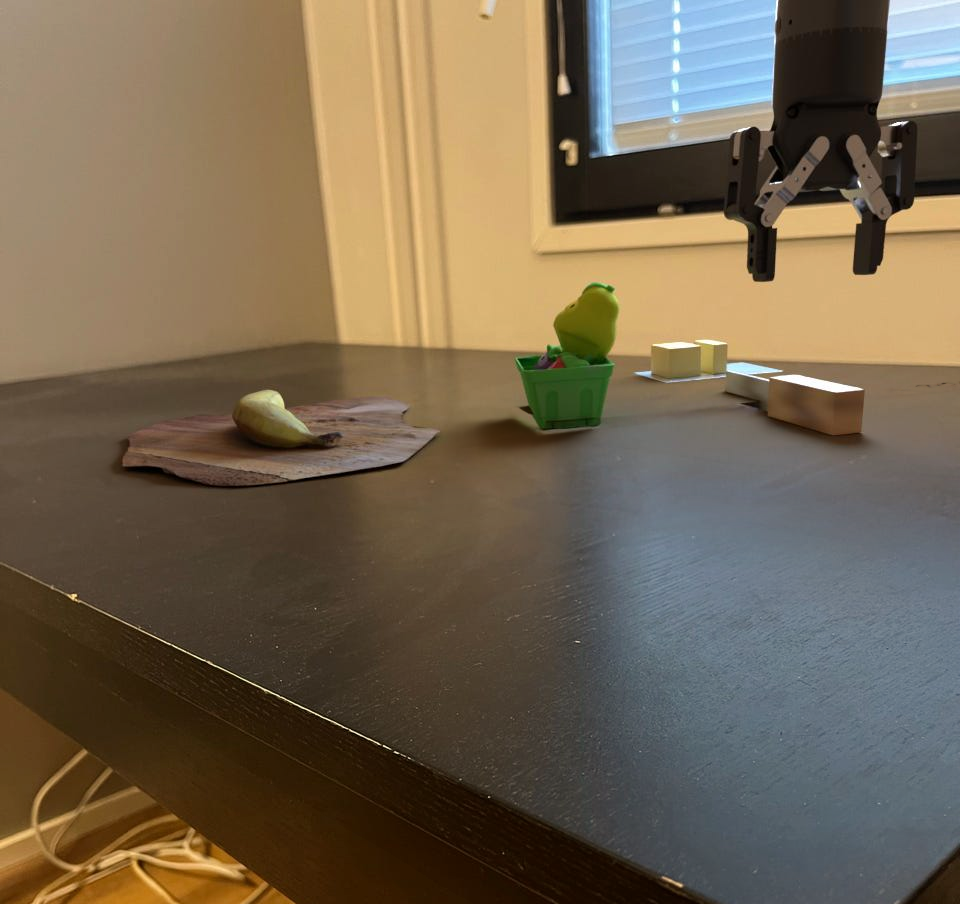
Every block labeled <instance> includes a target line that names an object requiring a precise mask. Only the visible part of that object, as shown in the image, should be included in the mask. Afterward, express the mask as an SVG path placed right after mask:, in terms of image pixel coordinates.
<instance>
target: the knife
mask: <svg viewBox="0 0 960 904" xmlns="http://www.w3.org/2000/svg"><path fill="white" fill-rule="evenodd" d="M724 384H725V386H724V391H725V392H727V393H731V394H734V395H738V396H742V397H745V398H748V399H752V400H756V401H748V402H739V404H740V405H743V406H747V407H750V408H754V409H758V410H761V411H763V412H767V416H768V417H770V418H773V419H777V420H780V421H784V422H787V423H790V424H793V425H795V426H800V427H803V428H806V429H809V430H813V431H817V432H820V433H823V434H826V435H830V436H841V435H842V436H843V435H850V434H859V433H862V428H863V417H864V404H865V392H866V389H864V388H861V387H855V386H851V385H847V384H841V383H837V382H832V381H827V380H822V379H817V378H813V377H809V376H804V375H800V374H787V375H776V376H769V378H764V377H760V376H754V375H752V374H750V375H747V374H742V373H738V372H734V371H726V377H725V383H724Z"/></svg>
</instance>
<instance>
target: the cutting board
mask: <svg viewBox="0 0 960 904" xmlns="http://www.w3.org/2000/svg"><path fill="white" fill-rule="evenodd" d="M410 407H411V405H410V404H406V403H405V402H401V401H400V400H395V399H392V398H390V397H380V396H363V397H362V396H360V397H348V398H347V397H345V398H339V399H335V400H328V401H323V402H316V403H309V404H304V405H297V406H291V407H285V402H284V400H283V397H282V396H281V394H280V393H279V392H278V391H276V390H273V389H262V390H258V391H255V392H252V393H248V394H245V395H244V396H243V397H241V398H240V399H239V400H238V402H237V403H236V404H235V406H234V409H233V412H232V413H227V414H196V415H193V416H189V417H181V418H176V419H170V420H164V421H162V422H159V423H156V424H153V425H150V426H147V427H145V428H143V429H140V430H137V431H134V432H132V433H130V434H128V435H126V438H127V439H128V441H129V445H128V448H127V450H126V452H125V453H124V455H123V456H122V467H126V468H127V467H128V468H137V467H156V468H161V469H162V471H163V472H164V473H166V474H169V475H176V476H177V477H178V478H180V479H185V480H187V481H195V482H198V483H201V484H204V485H211V486H212V487H213V486H216V487H229V486H231V487H232V486H237V487H249V486H257V485H268V484H278V483H286V482H292V481H296V480H301V479H305V478H313V477H320V476H326V475H327V476H328V475H332V474H333V475H334V474H335V475H336V474H341V473H346V472H353V471H359V470H365V469H372V468H378V467H384V466H388V465H392V464H397V463H403V462H405V461H406V460H408V459H409V458H411V456H413V455H414V454H416V453H417V452H418V451H419V450H421V449H422V448H423V447H424V446H425V445H427V444H428V442H430V440H432V439H433V438H434V436H435V435H436V434H438V433H441V432H442V430H439V429H435V428H431V427H423V426H415V425H410V424H407V423H402V422H403V417H404V414H403V412H405V411H407V410H408V409H407V408H409V409H410Z"/></svg>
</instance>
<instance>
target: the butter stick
mask: <svg viewBox="0 0 960 904" xmlns="http://www.w3.org/2000/svg"><path fill="white" fill-rule="evenodd" d="M650 371H651V374H655V375H658V376H662V377H665V378H669V379H672V378H683V377H693V376H701V346H699V345H694V343H690V342H689V343H688V342H683V341H678V342H667V343H656V344H651V345H650Z"/></svg>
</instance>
